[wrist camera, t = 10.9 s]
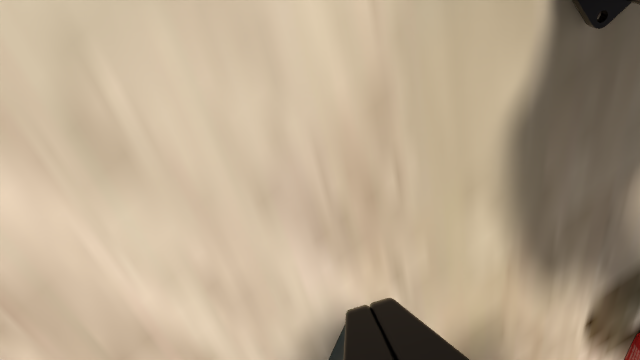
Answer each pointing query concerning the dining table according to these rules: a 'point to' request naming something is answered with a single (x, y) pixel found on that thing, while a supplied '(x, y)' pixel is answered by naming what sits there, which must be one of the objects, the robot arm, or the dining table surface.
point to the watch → (339, 348)
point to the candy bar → (634, 349)
